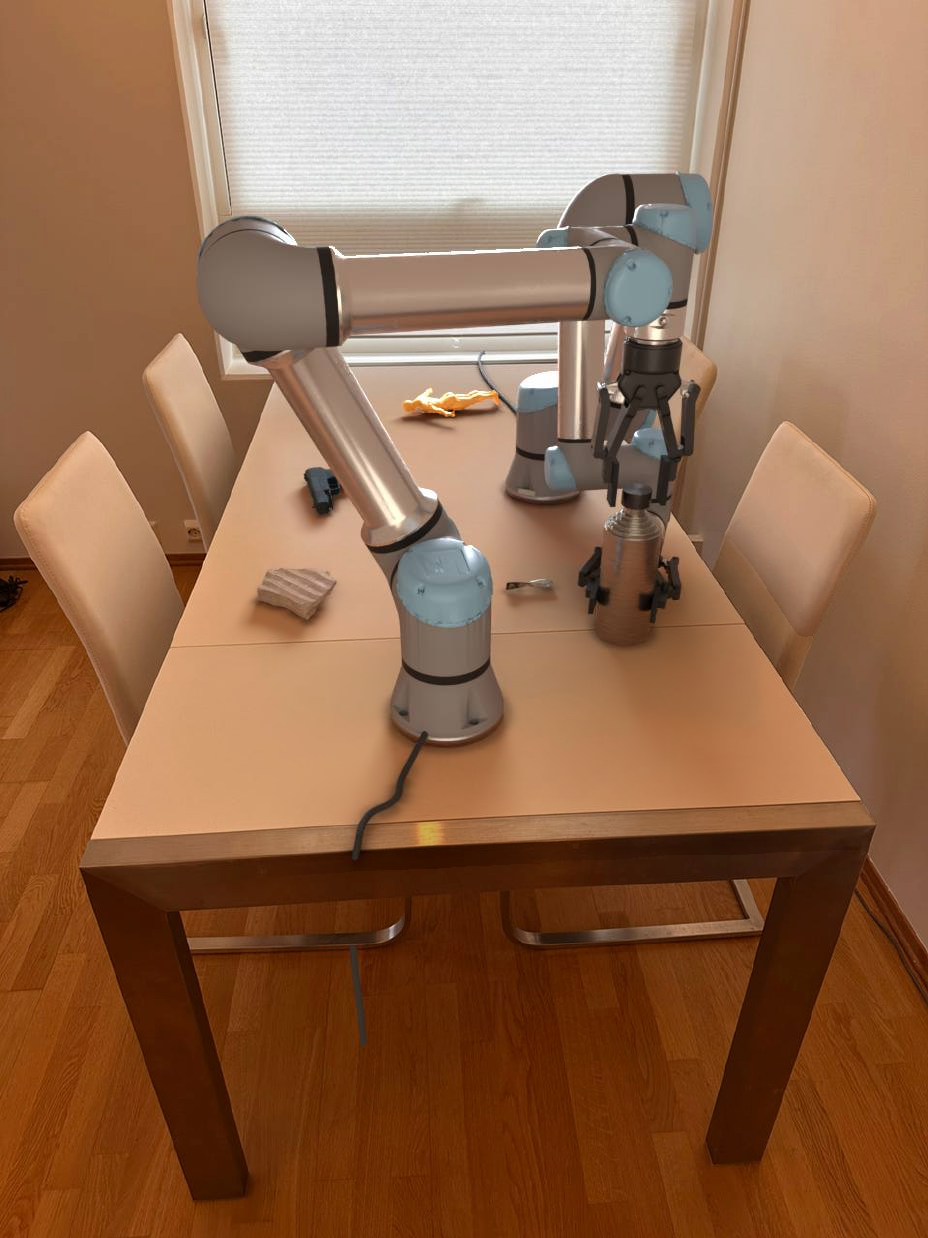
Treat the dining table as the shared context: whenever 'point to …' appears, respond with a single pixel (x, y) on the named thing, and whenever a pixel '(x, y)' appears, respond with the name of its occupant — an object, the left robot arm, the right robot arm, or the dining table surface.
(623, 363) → the left robot arm
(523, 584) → the putty knife
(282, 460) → the dining table surface
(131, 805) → the dining table surface
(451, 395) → the human figure
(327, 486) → the handgun
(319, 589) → the stone
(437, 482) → the dining table surface
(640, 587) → the bottle
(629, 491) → the cap
